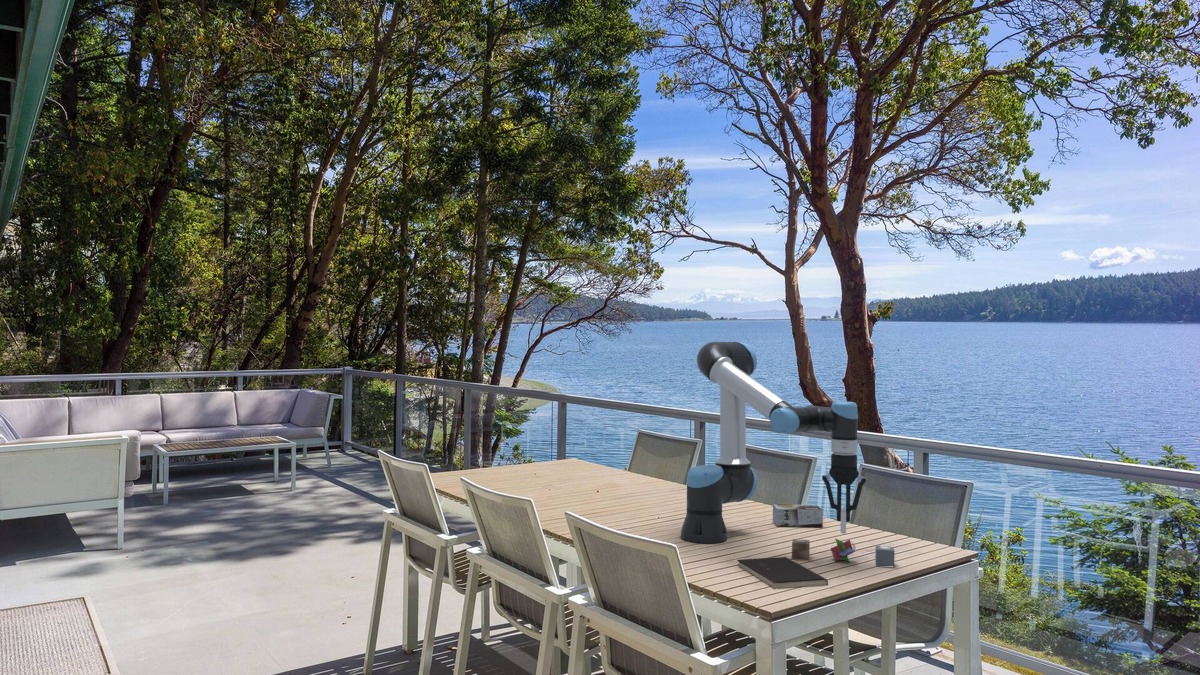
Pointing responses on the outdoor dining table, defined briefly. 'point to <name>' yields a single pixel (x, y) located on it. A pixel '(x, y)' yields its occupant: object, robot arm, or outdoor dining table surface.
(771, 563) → the hardcover book
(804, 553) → the walnut dotted block
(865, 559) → the outdoor dining table surface
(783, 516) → the coffee box
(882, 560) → the charcoal dotted block
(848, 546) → the geometric puzzle
